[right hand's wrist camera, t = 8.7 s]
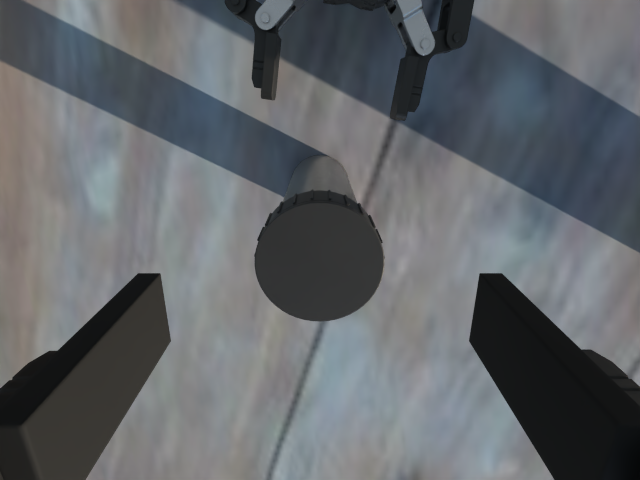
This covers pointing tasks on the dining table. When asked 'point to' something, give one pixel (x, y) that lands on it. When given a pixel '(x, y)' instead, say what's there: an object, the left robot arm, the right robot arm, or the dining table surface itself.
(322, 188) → the thermos
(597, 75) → the dining table surface
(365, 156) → the dining table surface
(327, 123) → the dining table surface
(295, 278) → the lid
